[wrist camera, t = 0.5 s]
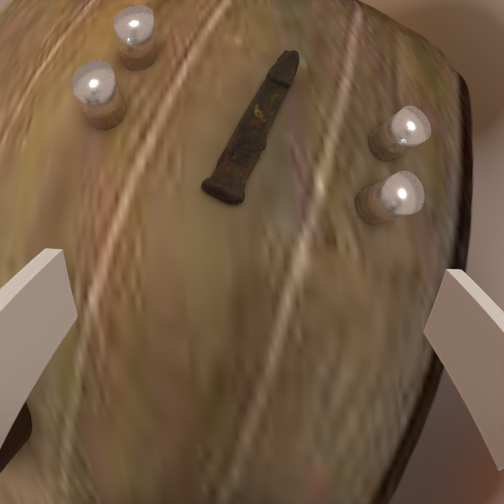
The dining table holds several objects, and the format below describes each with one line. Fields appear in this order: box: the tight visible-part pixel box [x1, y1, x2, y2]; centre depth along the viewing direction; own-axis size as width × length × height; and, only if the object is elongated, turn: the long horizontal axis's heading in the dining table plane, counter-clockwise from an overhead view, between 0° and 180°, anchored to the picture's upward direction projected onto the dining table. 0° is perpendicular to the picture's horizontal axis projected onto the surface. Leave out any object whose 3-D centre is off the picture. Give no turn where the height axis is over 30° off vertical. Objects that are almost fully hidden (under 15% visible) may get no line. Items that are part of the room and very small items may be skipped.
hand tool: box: [201, 50, 299, 204], centre depth 30 cm, size 19×4×5 cm, turn 154°
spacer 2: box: [113, 6, 157, 71], centre depth 27 cm, size 4×4×7 cm
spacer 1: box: [71, 61, 125, 130], centre depth 26 cm, size 4×4×7 cm
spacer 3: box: [368, 106, 431, 161], centre depth 31 cm, size 4×4×7 cm
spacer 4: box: [355, 171, 424, 224], centre depth 30 cm, size 4×4×7 cm
